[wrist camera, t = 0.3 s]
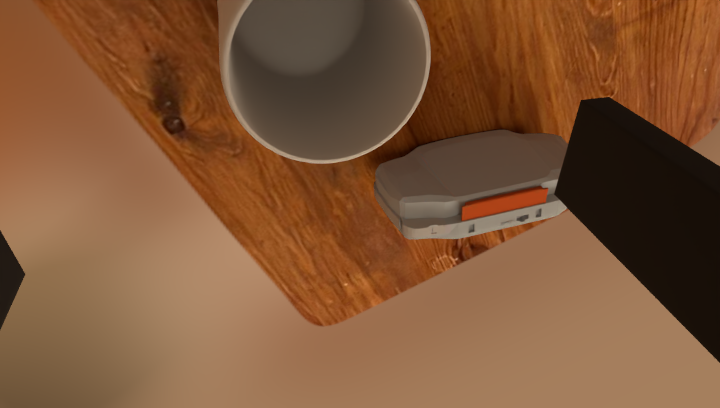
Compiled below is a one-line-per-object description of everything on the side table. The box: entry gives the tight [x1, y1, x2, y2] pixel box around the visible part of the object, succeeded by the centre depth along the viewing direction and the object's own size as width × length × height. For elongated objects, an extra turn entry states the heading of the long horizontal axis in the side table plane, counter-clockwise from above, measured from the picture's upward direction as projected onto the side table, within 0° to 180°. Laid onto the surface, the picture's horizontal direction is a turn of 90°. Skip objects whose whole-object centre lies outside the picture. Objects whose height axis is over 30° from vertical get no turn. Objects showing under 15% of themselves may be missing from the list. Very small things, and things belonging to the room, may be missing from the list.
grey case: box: [374, 130, 568, 239], centre depth 33 cm, size 14×3×8 cm, turn 95°
